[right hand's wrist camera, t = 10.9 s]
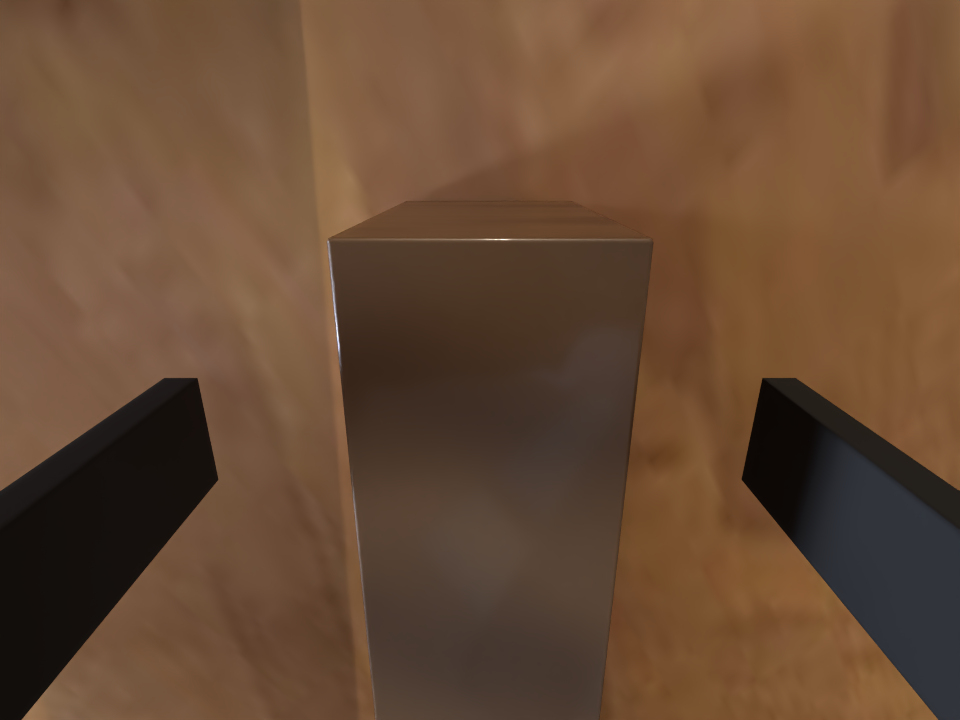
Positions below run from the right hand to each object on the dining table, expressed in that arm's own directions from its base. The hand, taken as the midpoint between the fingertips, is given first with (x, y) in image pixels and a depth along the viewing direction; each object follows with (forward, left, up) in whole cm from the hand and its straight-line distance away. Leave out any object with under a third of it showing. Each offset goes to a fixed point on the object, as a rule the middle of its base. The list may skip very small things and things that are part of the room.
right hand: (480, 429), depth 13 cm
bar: (+4, -37, -5) cm, 37 cm away
